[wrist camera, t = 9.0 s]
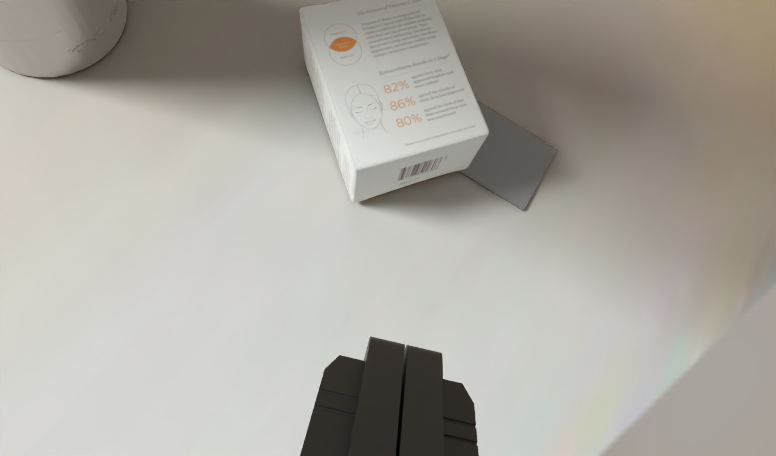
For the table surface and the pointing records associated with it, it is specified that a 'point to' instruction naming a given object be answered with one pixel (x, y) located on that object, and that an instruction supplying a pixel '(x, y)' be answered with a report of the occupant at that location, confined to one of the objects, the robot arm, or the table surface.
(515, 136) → the charcoal mat
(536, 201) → the table surface
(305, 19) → the small box
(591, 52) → the table surface
